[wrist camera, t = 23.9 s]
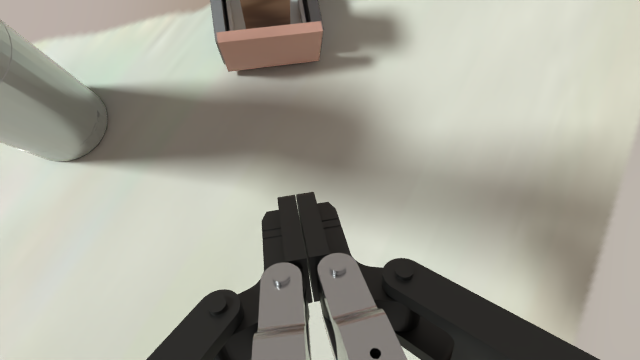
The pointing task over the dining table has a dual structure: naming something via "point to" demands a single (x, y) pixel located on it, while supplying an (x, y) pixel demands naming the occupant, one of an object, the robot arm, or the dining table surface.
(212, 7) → the block
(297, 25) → the dock tray
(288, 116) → the dining table surface
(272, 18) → the walnut block
